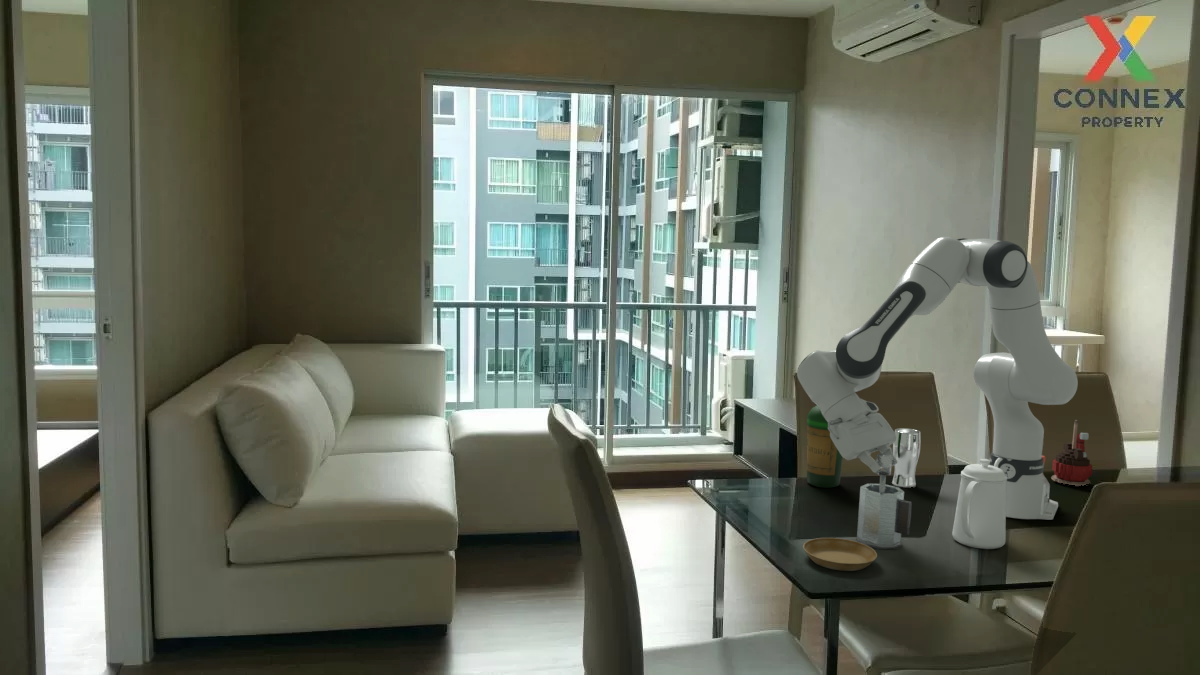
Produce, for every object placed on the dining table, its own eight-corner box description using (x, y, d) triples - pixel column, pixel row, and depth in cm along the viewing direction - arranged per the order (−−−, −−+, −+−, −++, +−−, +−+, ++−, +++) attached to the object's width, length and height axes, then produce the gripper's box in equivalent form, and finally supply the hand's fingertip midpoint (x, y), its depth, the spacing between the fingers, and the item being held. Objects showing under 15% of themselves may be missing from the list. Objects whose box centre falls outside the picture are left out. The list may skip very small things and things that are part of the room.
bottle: (794, 480, 244) (800, 379, 241) (826, 477, 248) (833, 378, 245) (819, 491, 234) (825, 386, 231) (851, 488, 239) (858, 384, 235)
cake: (1046, 477, 257) (1051, 415, 255) (1080, 479, 255) (1086, 417, 253) (1059, 487, 246) (1065, 423, 244) (1095, 489, 245) (1102, 425, 243)
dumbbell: (873, 525, 199) (878, 451, 197) (896, 531, 195) (901, 455, 194) (861, 530, 195) (867, 454, 193) (885, 536, 192) (890, 459, 190)
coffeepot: (1020, 534, 205) (1027, 453, 203) (987, 562, 186) (995, 474, 183) (971, 523, 212) (977, 445, 209) (934, 549, 192) (941, 464, 190)
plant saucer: (891, 571, 179) (892, 559, 179) (829, 579, 174) (829, 566, 174) (848, 546, 193) (848, 535, 193) (788, 552, 188) (789, 540, 188)
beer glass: (895, 479, 248) (898, 426, 247) (920, 484, 244) (924, 430, 243) (886, 485, 243) (890, 430, 241) (912, 489, 239) (916, 434, 237)
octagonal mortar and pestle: (868, 532, 202) (872, 480, 201) (916, 545, 195) (920, 491, 193) (849, 541, 195) (852, 488, 194) (897, 555, 188) (901, 499, 187)
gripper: (834, 413, 189) (874, 467, 184) (878, 402, 204) (917, 452, 199) (814, 430, 193) (853, 484, 188) (859, 418, 208) (896, 468, 202)
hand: (886, 467), depth 193 cm, fingers open, 6 cm apart
